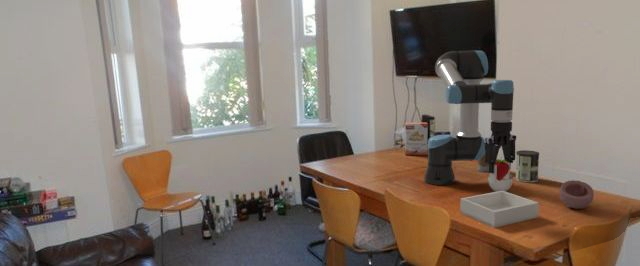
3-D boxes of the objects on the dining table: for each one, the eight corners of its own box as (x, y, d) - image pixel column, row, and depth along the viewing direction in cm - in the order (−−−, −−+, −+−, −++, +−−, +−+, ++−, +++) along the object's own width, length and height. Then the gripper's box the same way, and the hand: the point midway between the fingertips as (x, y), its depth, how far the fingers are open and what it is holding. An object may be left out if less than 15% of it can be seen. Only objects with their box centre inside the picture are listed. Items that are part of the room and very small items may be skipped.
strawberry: (497, 177, 174) (497, 152, 173) (512, 181, 167) (513, 156, 166) (486, 179, 172) (486, 154, 170) (501, 183, 165) (502, 158, 163)
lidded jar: (501, 195, 196) (501, 175, 195) (482, 189, 206) (483, 170, 204) (517, 191, 201) (518, 171, 199) (498, 185, 210) (499, 167, 209)
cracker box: (405, 155, 283) (405, 123, 279) (405, 153, 289) (405, 122, 285) (427, 155, 280) (427, 123, 277) (426, 153, 286) (427, 122, 283)
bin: (460, 212, 176) (460, 198, 175) (501, 204, 184) (502, 190, 183) (494, 227, 159) (494, 212, 158) (537, 217, 168) (538, 202, 167)
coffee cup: (475, 172, 237) (476, 144, 234) (476, 168, 244) (477, 142, 242) (492, 173, 234) (493, 145, 231) (492, 169, 241) (493, 142, 239)
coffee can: (534, 177, 223) (536, 150, 221) (540, 182, 213) (542, 154, 211) (513, 176, 225) (514, 150, 223) (517, 182, 215) (519, 154, 213)
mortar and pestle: (560, 211, 174) (562, 183, 172) (556, 202, 185) (558, 175, 183) (595, 214, 170) (597, 185, 168) (589, 204, 181) (591, 177, 179)
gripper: (489, 124, 159) (487, 185, 162) (527, 119, 166) (525, 178, 170) (474, 121, 166) (473, 180, 169) (512, 117, 173) (510, 174, 177)
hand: (499, 179), depth 169 cm, fingers closed on strawberry, 6 cm apart
